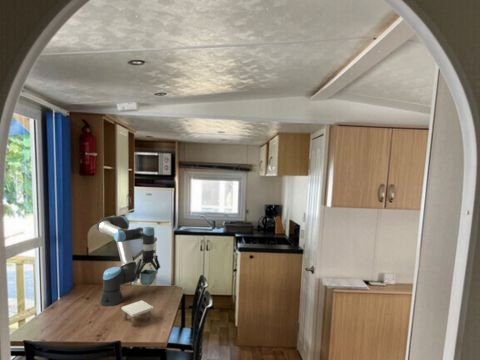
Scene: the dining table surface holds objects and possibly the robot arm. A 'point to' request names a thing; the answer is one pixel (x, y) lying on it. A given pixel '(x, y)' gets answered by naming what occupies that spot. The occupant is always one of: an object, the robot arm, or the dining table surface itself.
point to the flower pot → (147, 277)
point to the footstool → (137, 310)
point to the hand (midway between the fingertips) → (147, 280)
